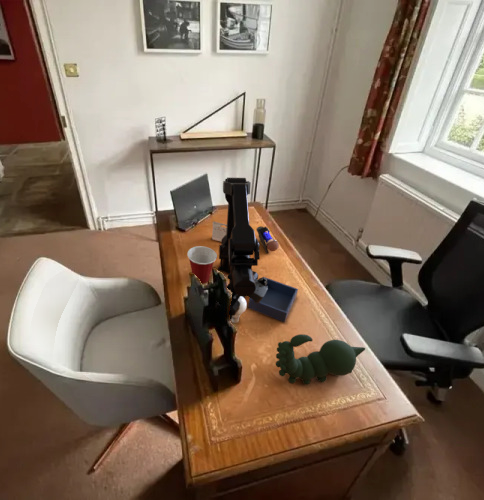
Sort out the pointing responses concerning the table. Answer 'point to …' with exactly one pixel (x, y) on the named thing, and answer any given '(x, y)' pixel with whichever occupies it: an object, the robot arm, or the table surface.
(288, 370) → the toy figurine
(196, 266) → the plastic cup
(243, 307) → the lightbulb
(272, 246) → the character figurine
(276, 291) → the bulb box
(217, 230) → the ink cartridge box
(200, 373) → the table surface
